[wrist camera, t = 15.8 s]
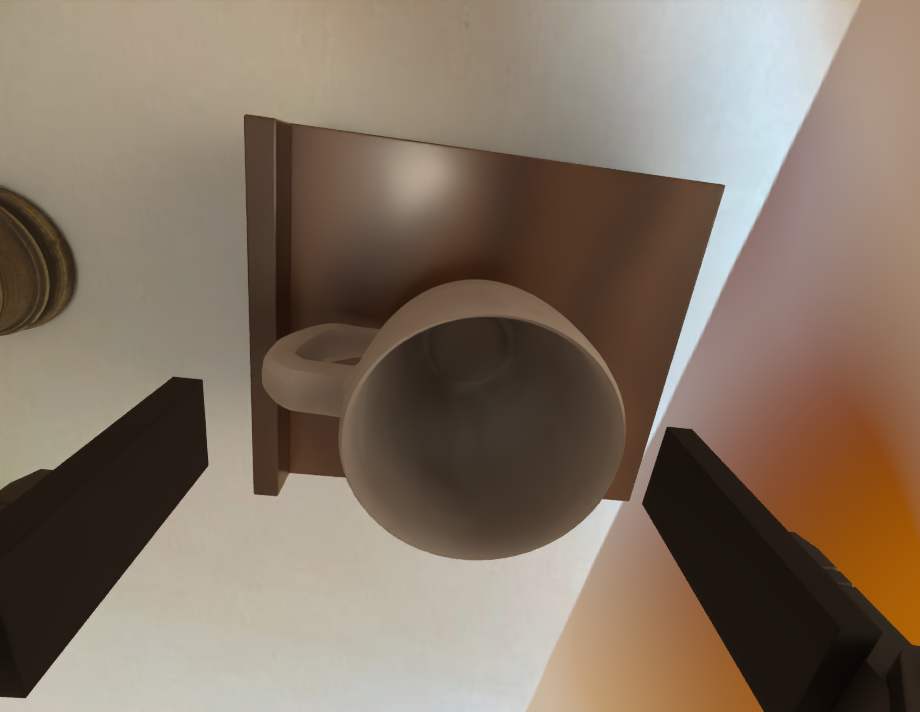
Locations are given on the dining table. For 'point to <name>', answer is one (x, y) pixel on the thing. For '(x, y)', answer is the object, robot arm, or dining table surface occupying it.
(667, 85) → the dining table surface
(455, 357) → the mug
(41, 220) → the container
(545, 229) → the brown wooden box
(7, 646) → the robot arm
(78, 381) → the dining table surface
